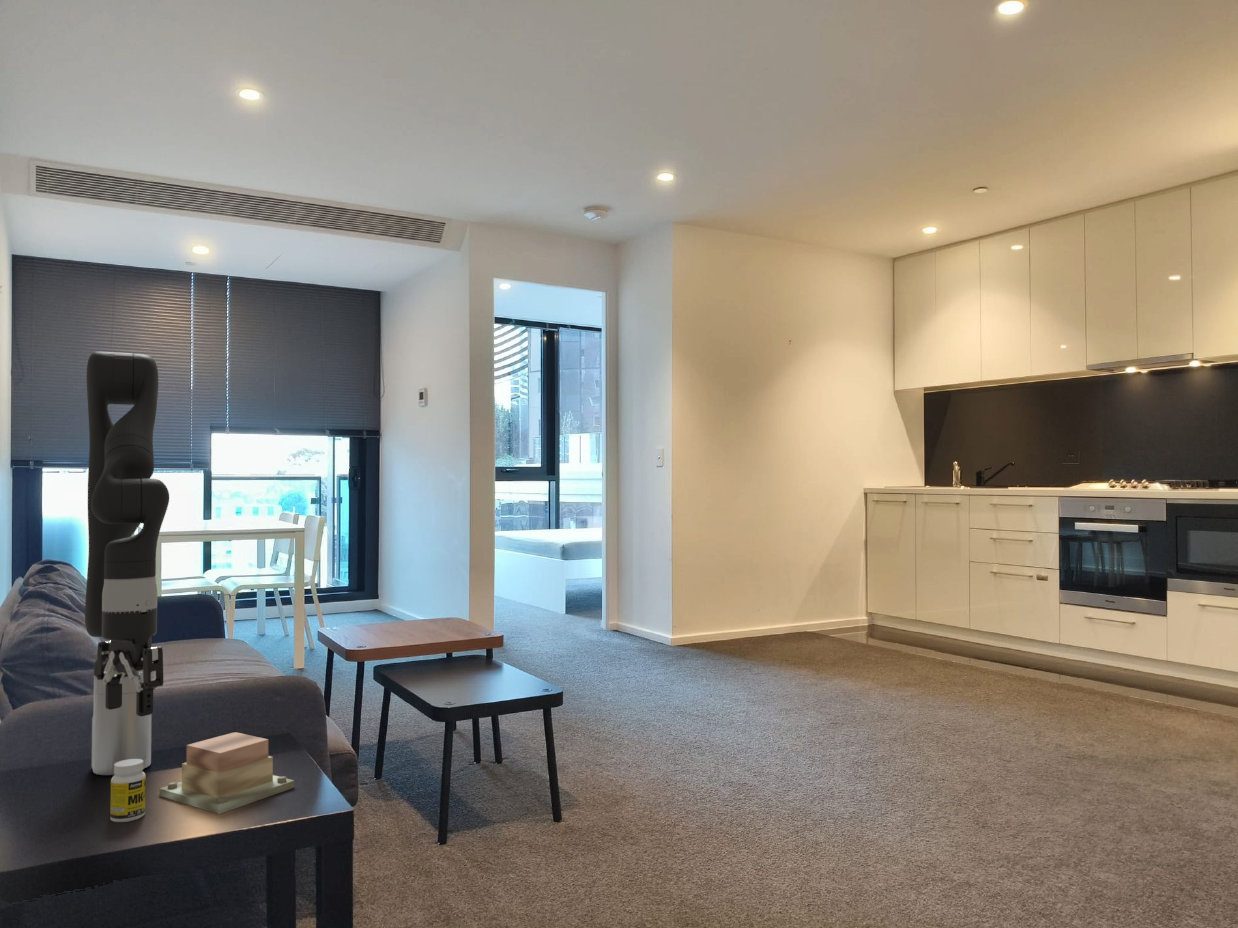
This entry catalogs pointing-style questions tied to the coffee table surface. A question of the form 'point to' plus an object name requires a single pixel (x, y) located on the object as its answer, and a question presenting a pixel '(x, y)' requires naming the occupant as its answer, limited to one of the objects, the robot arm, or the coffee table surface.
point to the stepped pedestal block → (226, 774)
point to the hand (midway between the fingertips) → (129, 711)
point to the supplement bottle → (128, 791)
